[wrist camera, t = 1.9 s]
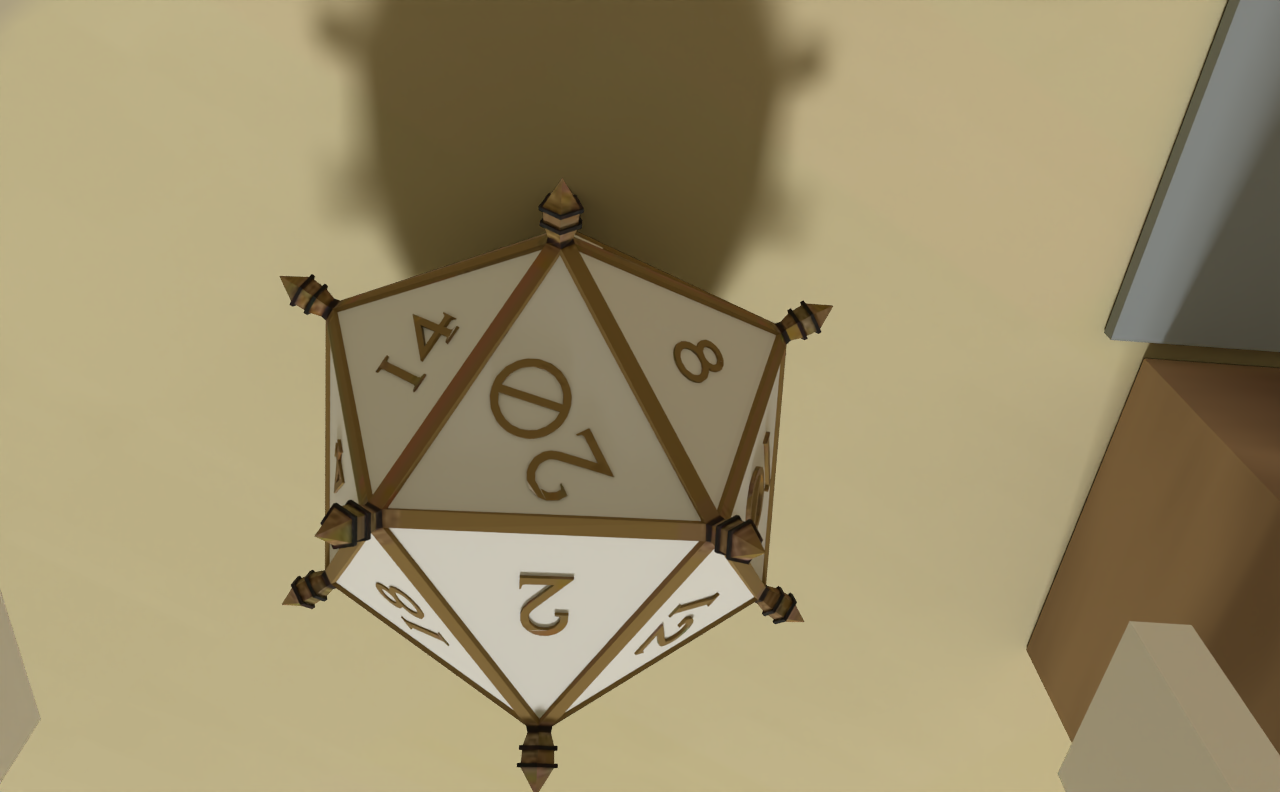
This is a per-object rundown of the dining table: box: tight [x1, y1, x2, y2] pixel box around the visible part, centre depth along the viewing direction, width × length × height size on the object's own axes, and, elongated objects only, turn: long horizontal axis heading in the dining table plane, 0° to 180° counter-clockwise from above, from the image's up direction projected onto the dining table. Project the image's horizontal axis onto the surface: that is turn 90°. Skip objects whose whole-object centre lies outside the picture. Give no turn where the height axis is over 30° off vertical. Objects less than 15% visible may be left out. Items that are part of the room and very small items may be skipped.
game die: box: [280, 178, 833, 792], centre depth 16 cm, size 9×8×10 cm
